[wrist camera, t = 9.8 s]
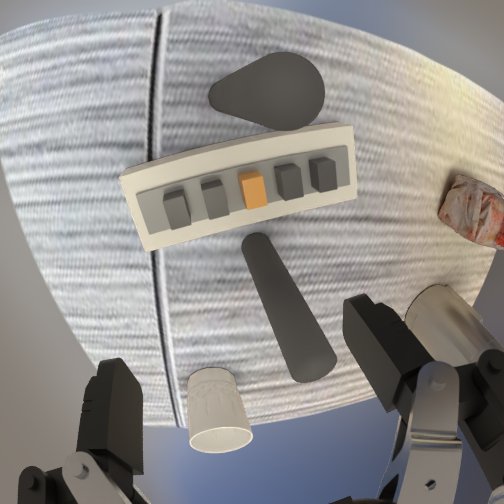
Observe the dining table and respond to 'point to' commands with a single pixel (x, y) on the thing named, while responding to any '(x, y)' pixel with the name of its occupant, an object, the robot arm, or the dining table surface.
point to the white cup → (216, 412)
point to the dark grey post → (272, 92)
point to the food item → (475, 212)
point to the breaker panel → (233, 158)
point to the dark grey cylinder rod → (288, 313)
